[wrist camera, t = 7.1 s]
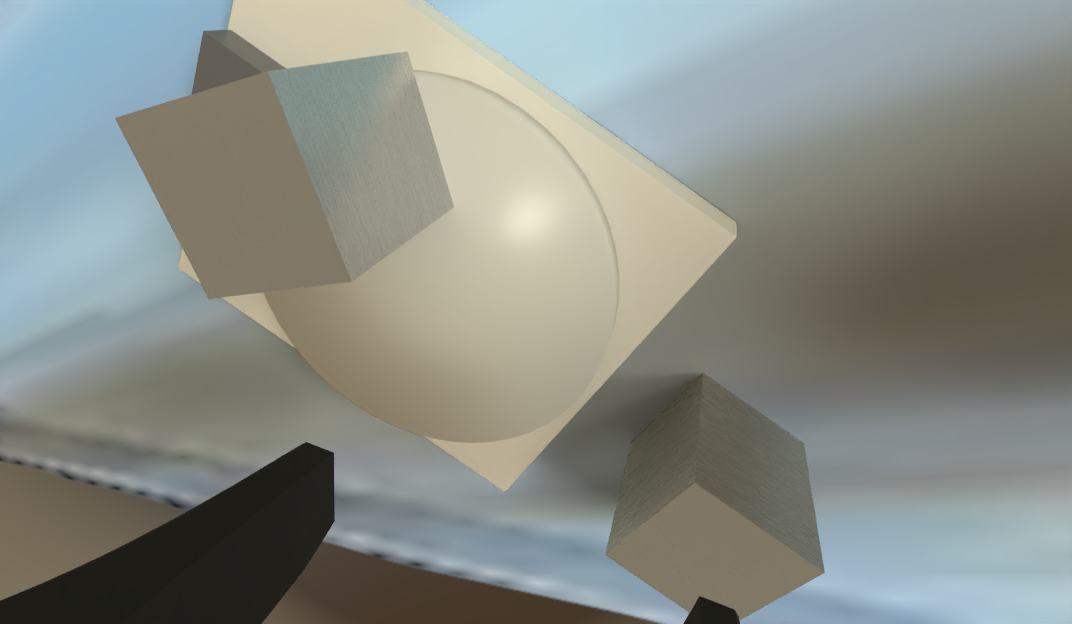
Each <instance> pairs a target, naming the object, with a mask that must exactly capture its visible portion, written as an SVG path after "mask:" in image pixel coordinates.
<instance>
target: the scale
mask: <svg viewBox="0 0 1072 624" xmlns="http://www.w3.org/2000/svg"><path fill="white" fill-rule="evenodd" d="M406 51H408V55H409V58H410V61H411V65H412V68H413V71H414V75H415V78H416V81H417V85H418V88H419V91H420V95H421V98H422V101H423V105H424V108H425V111H426V115H427V118H428V121H429V125H430V128H431V131H432V135H433V138H434V141H435V145H436V148H437V151H438V155H439V158H440V161H441V165H442V168H443V171H444V175H445V178H446V181H447V184H448V188H449V191H450V194H451V198H452V201H453V204H454V208H452V209H451V210H449V211H448V212H447V213H445V214H444V215H443V216H441V217H440V218H439V219H437V220H436V221H434V222H433V223H432V224H430V225H429V226H428V227H426V228H425V229H423V230H422V231H421V232H419V233H418V234H417V235H415V236H414V237H413V238H411V239H410V240H408V241H407V242H406V243H404V244H403V245H402V246H400V247H399V248H397V249H396V250H395V251H393V252H392V253H391V254H389V255H388V256H386V257H385V258H384V259H382V260H381V261H380V262H378V263H377V264H376V265H374V266H373V267H371V268H370V269H369V270H367V271H366V272H365V273H363V274H362V275H360V276H359V277H358V278H356V279H355V280H354V281H352V282H347V283H338V284H330V285H321V286H313V287H305V288H296V289H288V290H279V291H271V292H263V293H254V294H246V295H237V296H229V297H221V298H223V299H224V300H226V301H227V302H228V303H230V304H231V305H233V306H234V307H236V308H237V309H239V310H240V311H242V312H243V313H244V314H246V315H247V316H249V317H250V318H252V319H253V320H255V321H256V322H258V323H259V324H261V325H262V326H263V327H265V328H266V329H268V330H269V331H271V332H272V333H274V334H275V335H277V336H278V337H280V338H281V339H282V340H284V341H285V342H287V343H288V344H290V345H291V346H293V347H294V348H296V349H297V350H298V351H299V353H300V354H301V355H302V356H303V358H304V359H305V360H306V361H307V362H308V363H309V364H310V365H311V367H312V368H313V369H314V370H315V371H316V372H317V373H318V374H319V375H320V376H321V377H322V378H323V379H324V380H325V381H327V382H328V383H329V384H330V385H331V386H332V387H333V388H334V389H336V390H337V391H338V392H339V393H341V394H342V395H343V396H345V397H346V398H347V399H349V400H350V401H351V402H353V403H354V404H356V405H357V406H359V407H360V408H362V409H364V410H365V411H367V412H368V413H370V414H372V415H373V416H375V417H377V418H379V419H381V420H383V421H385V422H387V423H389V424H391V425H394V426H396V427H399V428H401V429H404V430H406V431H409V432H411V433H415V434H418V435H422V436H424V437H425V438H427V439H428V440H430V441H431V442H433V443H434V444H436V445H437V446H439V447H440V448H442V449H443V450H444V451H446V452H447V453H449V454H450V455H452V456H453V457H455V458H456V459H458V460H459V461H461V462H462V463H463V464H465V465H466V466H468V467H469V468H471V469H472V470H474V471H475V472H477V473H478V474H479V475H481V476H482V477H484V478H485V479H487V480H488V481H490V482H491V483H493V484H494V485H496V486H497V487H498V488H500V489H501V490H503V491H504V492H505V491H506V490H507V489H508V488H509V487H510V486H511V485H512V484H513V483H514V481H515V480H516V479H517V478H518V477H519V476H520V475H521V474H522V473H523V472H524V470H525V469H526V468H527V467H528V466H529V465H530V464H531V463H532V462H533V461H534V459H535V458H536V457H537V456H538V455H539V454H540V453H541V452H542V451H543V450H544V448H545V447H546V446H547V445H548V444H549V443H550V442H551V441H552V440H553V439H554V437H555V436H556V435H557V434H558V433H559V432H560V431H561V430H562V429H563V428H564V427H565V425H566V424H567V423H568V422H569V421H570V420H571V419H572V418H573V417H574V416H575V414H576V413H577V412H578V411H579V410H580V409H581V408H582V407H583V406H584V405H585V403H586V402H587V401H588V400H589V399H590V398H591V397H592V396H593V395H594V394H595V392H596V391H597V390H598V389H599V388H600V387H601V386H602V385H603V384H604V383H605V381H606V380H607V379H608V378H609V377H610V376H611V375H612V374H613V373H614V372H615V370H616V369H617V368H618V367H619V366H620V365H621V364H622V363H623V362H624V361H625V360H626V358H627V357H628V356H629V355H630V354H631V353H632V352H633V351H634V350H635V349H636V347H637V346H638V345H639V344H640V343H641V342H642V341H643V340H644V339H645V338H646V336H647V335H648V334H649V333H650V332H651V331H652V330H653V329H654V328H655V327H656V325H657V324H658V323H659V322H660V321H661V320H662V319H663V318H664V317H665V316H666V314H667V313H668V312H669V311H670V310H671V309H672V308H673V307H674V306H675V305H676V303H677V302H678V301H679V300H680V299H681V298H682V297H683V296H684V295H685V294H686V293H687V291H688V290H689V289H690V288H691V287H692V286H693V285H694V284H695V283H696V282H697V280H698V279H699V278H700V277H701V276H702V275H703V274H704V273H705V272H706V271H707V269H708V268H709V267H710V266H711V265H712V264H713V263H714V262H715V261H716V260H717V258H718V257H719V256H720V255H721V254H722V253H723V252H724V251H725V250H726V249H727V247H728V246H729V245H730V244H731V243H732V242H733V241H734V240H735V239H736V238H737V226H736V222H735V221H734V220H732V219H731V218H730V217H728V216H727V215H725V214H724V213H723V212H721V211H720V210H718V209H717V208H716V207H714V206H713V205H711V204H710V203H709V202H707V201H706V200H704V199H703V198H701V197H700V196H699V195H697V194H696V193H694V192H693V191H692V190H690V189H689V188H687V187H686V186H685V185H683V184H682V183H680V182H679V181H678V180H676V179H675V178H673V177H672V176H671V175H669V174H668V173H666V172H665V171H663V170H662V169H661V168H659V167H658V166H656V165H655V164H654V163H652V162H651V161H649V160H648V159H647V158H645V157H644V156H642V155H641V154H640V153H638V152H637V151H635V150H634V149H633V148H631V147H630V146H628V145H627V144H626V143H624V142H623V141H621V140H620V139H618V138H617V137H616V136H614V135H613V134H611V133H610V132H609V131H607V130H606V129H604V128H603V127H602V126H600V125H599V124H597V123H596V122H595V121H593V120H592V119H590V118H589V117H588V116H586V115H585V114H583V113H582V112H580V111H579V110H578V109H576V108H575V107H573V106H572V105H571V104H569V103H568V102H566V101H565V100H564V99H562V98H561V97H559V96H558V95H557V94H555V93H554V92H552V91H551V90H550V89H548V88H547V87H545V86H544V85H543V84H541V83H540V82H538V81H537V80H535V79H534V78H533V77H531V76H530V75H528V74H527V73H526V72H524V71H523V70H521V69H520V68H519V67H517V66H516V65H514V64H513V63H512V62H510V61H509V60H507V59H506V58H505V57H503V56H502V55H500V54H499V53H497V52H496V51H495V50H493V49H492V48H490V47H489V46H488V45H486V44H485V43H483V42H482V41H481V40H479V39H478V38H476V37H475V36H474V35H472V34H471V33H469V32H468V31H467V30H465V29H464V28H462V27H461V26H460V25H458V24H457V23H455V22H454V21H452V20H451V19H450V18H448V17H447V16H445V15H444V14H443V13H441V12H440V11H438V10H437V9H436V8H434V7H433V6H431V5H430V4H429V3H427V2H426V1H424V0H234V1H233V6H232V11H231V16H230V20H229V25H228V30H216V31H203V36H202V42H201V47H200V53H199V58H198V63H197V69H196V74H195V80H194V85H193V91H192V94H195V93H199V92H202V91H205V90H208V89H212V88H215V87H218V86H221V85H225V84H228V83H231V82H234V81H238V80H241V79H244V78H248V77H251V76H254V75H257V74H261V73H264V72H267V71H273V70H280V69H287V68H294V67H301V66H308V65H315V64H322V63H329V62H336V61H343V60H350V59H357V58H364V57H371V56H378V55H385V54H392V53H399V52H406ZM178 268H179V269H180V270H182V271H183V272H185V273H186V274H188V275H189V276H190V277H192V278H193V279H195V280H196V281H198V282H199V283H200V281H199V279H198V277H197V275H196V273H195V271H194V269H193V267H192V266H191V264H190V262H189V260H188V258H187V256H186V254H185V252H184V250H183V248H182V252H181V257H180V261H179V266H178Z"/></svg>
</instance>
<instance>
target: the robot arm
mask: <svg viewBox="0 0 1072 624" xmlns="http://www.w3.org/2000/svg"><path fill="white" fill-rule="evenodd" d="M334 521H335V520H334V453H333V452H330V451H328V450H325V449H323V448H320V447H318V446H315V445H312V444H310V443H307V442H306V443H304V444H302V445H300V446H298V447H297V448H295V449H293V450H291V451H290V452H288V453H286V454H285V455H283V456H281V457H280V458H278V459H276V460H275V461H273V462H272V463H270V464H268V465H267V466H265V467H263V468H262V469H260V470H258V471H257V472H255V473H253V474H252V475H250V476H248V477H246V478H245V479H243V480H241V481H240V482H238V483H236V484H235V485H233V486H231V487H230V488H228V489H226V490H224V491H223V492H221V493H219V494H217V495H216V496H214V497H212V498H210V499H209V500H207V501H205V502H203V503H202V504H200V505H198V506H196V507H194V508H193V509H191V510H189V511H187V512H186V513H184V514H182V515H180V516H178V517H177V518H175V519H173V520H171V521H169V522H167V523H165V524H163V525H161V526H160V527H158V528H156V529H154V530H152V531H150V532H148V533H146V534H144V535H142V536H140V537H138V538H137V539H135V540H133V541H131V542H129V543H127V544H125V545H123V546H121V547H119V548H117V549H115V550H113V551H111V552H109V553H107V554H105V555H103V556H101V557H99V558H97V559H95V560H92V561H90V562H88V563H86V564H84V565H82V566H80V567H77V568H75V569H73V570H71V571H69V572H66V573H64V574H62V575H60V576H57V577H55V578H53V579H51V580H49V581H47V582H44V583H42V584H40V585H37V586H35V587H32V588H30V589H27V590H25V591H23V592H20V593H18V594H16V595H13V596H11V597H8V598H6V599H4V600H1V601H0V624H262V622H263V621H264V620H265V618H266V617H267V616H268V615H269V614H270V612H271V611H272V610H273V609H274V607H275V606H276V605H277V603H278V602H279V601H280V600H281V598H282V597H283V596H284V595H285V593H286V592H287V591H288V589H289V588H290V587H291V586H292V584H293V583H294V582H295V580H296V579H297V578H298V577H299V575H300V574H301V573H302V571H303V570H304V569H305V567H306V565H307V564H308V563H309V561H310V559H311V558H312V556H313V555H314V553H315V552H316V550H317V549H318V547H319V545H320V544H321V542H322V541H323V539H324V537H325V536H326V534H327V532H328V531H329V529H330V528H331V526H332V524H333V523H334ZM684 624H740V621H739V616H738V614H737V613H736V611H735V609H732V608H730V607H727V606H724V605H722V604H719V603H717V602H714V601H712V600H709V599H707V598H704V597H701V596H699V598H698V599H697V601H696V603H695V605H694V606H693V608H692V610H691V612H690V613H689V615H688V617H687V619H686V620H685V622H684Z"/></svg>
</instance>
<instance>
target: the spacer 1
mask: <svg viewBox="0 0 1072 624" xmlns="http://www.w3.org/2000/svg"><path fill="white" fill-rule="evenodd" d="M115 119H116V121H117V123H118V125H119V127H120V129H121V131H122V133H123V134H124V136H125V138H126V140H127V142H128V144H129V146H130V148H131V150H132V152H133V154H134V156H135V158H136V160H137V161H138V163H139V165H140V167H141V169H142V171H143V173H144V175H145V177H146V179H147V181H148V183H149V185H150V187H151V188H152V190H153V192H154V194H155V196H156V198H157V200H158V202H159V204H160V206H161V208H162V210H163V212H164V213H165V215H166V217H167V219H168V221H169V223H170V225H171V227H172V229H173V231H174V233H175V235H176V237H177V239H178V240H179V242H180V244H181V246H182V248H183V250H184V252H185V254H186V256H187V258H188V260H189V262H190V264H191V266H192V267H193V269H194V271H195V273H196V275H197V277H198V279H199V281H200V283H201V285H202V287H203V289H204V291H205V293H206V294H207V296H208V298H209V299H212V298H221V297H229V296H237V295H246V294H254V293H263V292H271V291H279V290H288V289H296V288H305V287H313V286H321V285H330V284H338V283H347V282H352V281H354V280H355V279H356V278H358V277H359V276H360V275H362V274H363V273H365V272H366V271H367V270H369V269H370V268H371V267H373V266H374V265H376V264H377V263H378V262H380V261H381V260H382V259H384V258H385V257H386V256H388V255H389V254H391V253H392V252H393V251H395V250H396V249H397V248H399V247H400V246H402V245H403V244H404V243H406V242H407V241H408V240H410V239H411V238H413V237H414V236H415V235H417V234H418V233H419V232H421V231H422V230H423V229H425V228H426V227H428V226H429V225H430V224H432V223H433V222H434V221H436V220H437V219H439V218H440V217H441V216H443V215H444V214H445V213H447V212H448V211H449V210H451V209H452V208H454V204H453V201H452V198H451V194H450V191H449V188H448V184H447V181H446V178H445V175H444V171H443V168H442V165H441V161H440V158H439V155H438V151H437V148H436V145H435V141H434V138H433V135H432V131H431V128H430V125H429V121H428V118H427V115H426V111H425V108H424V105H423V101H422V98H421V95H420V91H419V88H418V85H417V81H416V78H415V75H414V71H413V68H412V65H411V61H410V58H409V55H408V51H406V52H399V53H392V54H385V55H378V56H371V57H364V58H357V59H350V60H343V61H336V62H329V63H322V64H315V65H308V66H301V67H294V68H287V69H280V70H273V71H267V72H264V73H261V74H257V75H254V76H251V77H248V78H244V79H241V80H238V81H234V82H231V83H228V84H225V85H221V86H218V87H215V88H212V89H208V90H205V91H202V92H199V93H195V94H192V95H189V96H186V97H182V98H179V99H176V100H173V101H169V102H166V103H163V104H160V105H156V106H153V107H150V108H147V109H143V110H140V111H137V112H133V113H130V114H127V115H124V116H120V117H117V118H115Z"/></svg>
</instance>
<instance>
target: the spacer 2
mask: <svg viewBox="0 0 1072 624" xmlns="http://www.w3.org/2000/svg"><path fill="white" fill-rule="evenodd" d="M605 555H606V556H608V557H609V558H611V559H612V560H614V561H615V562H616V563H618V564H619V565H621V566H622V567H624V568H625V569H627V570H628V571H630V572H631V573H633V574H634V575H635V576H637V577H638V578H640V579H641V580H643V581H644V582H646V583H647V584H649V585H650V586H651V587H653V588H654V589H656V590H657V591H659V592H660V593H662V594H663V595H665V596H666V597H668V598H669V599H670V600H672V601H673V602H675V603H676V604H678V605H679V606H681V607H682V608H684V609H685V610H687V611H688V612H689V613H690V612H691V610H692V608H693V606H694V605H695V603H696V601H697V599H698V598H699V596H701V597H704V598H707V599H709V600H712V601H714V602H717V603H719V604H722V605H724V606H727V607H730V608H732V609H735V611H736V613H737V614H738V616H739V620H741V619H743V618H745V617H746V616H748V615H750V614H752V613H754V612H755V611H757V610H759V609H761V608H762V607H764V606H766V605H768V604H770V603H771V602H773V601H775V600H777V599H778V598H780V597H782V596H784V595H786V594H787V593H789V592H791V591H793V590H794V589H796V588H798V587H800V586H802V585H803V584H805V583H807V582H809V581H811V580H812V579H814V578H816V577H818V576H819V575H821V574H823V573H825V572H824V566H823V560H822V554H821V547H820V541H819V535H818V529H817V523H816V517H815V510H814V504H813V498H812V492H811V486H810V480H809V473H808V467H807V461H806V455H805V449H804V443H802V442H801V441H800V440H798V439H797V438H795V437H794V436H792V435H791V434H790V433H788V432H787V431H785V430H784V429H782V428H781V427H780V426H778V425H777V424H775V423H774V422H772V421H771V420H769V419H768V418H767V417H765V416H764V415H762V414H761V413H759V412H758V411H757V410H755V409H754V408H752V407H751V406H749V405H748V404H747V403H745V402H744V401H742V400H741V399H739V398H738V397H736V396H735V395H734V394H732V393H731V392H729V391H728V390H726V389H725V388H724V387H722V386H721V385H719V384H718V383H716V382H715V381H714V380H712V379H711V378H709V377H708V376H706V375H705V374H702V375H701V376H700V377H699V378H698V379H697V380H696V381H695V382H694V383H693V384H692V385H691V386H690V387H689V388H688V389H687V390H686V391H685V392H683V393H682V394H681V395H680V396H679V397H678V398H677V399H676V400H675V401H674V402H673V403H672V404H671V405H670V406H669V407H668V408H667V409H666V410H665V411H664V412H663V413H662V414H661V415H659V416H658V417H657V418H656V419H655V420H654V421H653V422H652V423H651V424H650V425H649V426H648V427H647V428H646V429H645V430H644V431H643V432H642V433H641V434H640V435H639V436H638V437H636V438H635V439H634V440H633V441H632V442H631V446H630V450H629V454H628V459H627V463H626V467H625V472H624V476H623V480H622V485H621V489H620V493H619V498H618V502H617V506H616V510H615V515H614V519H613V523H612V528H611V532H610V536H609V541H608V545H607V549H606V554H605Z"/></svg>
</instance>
